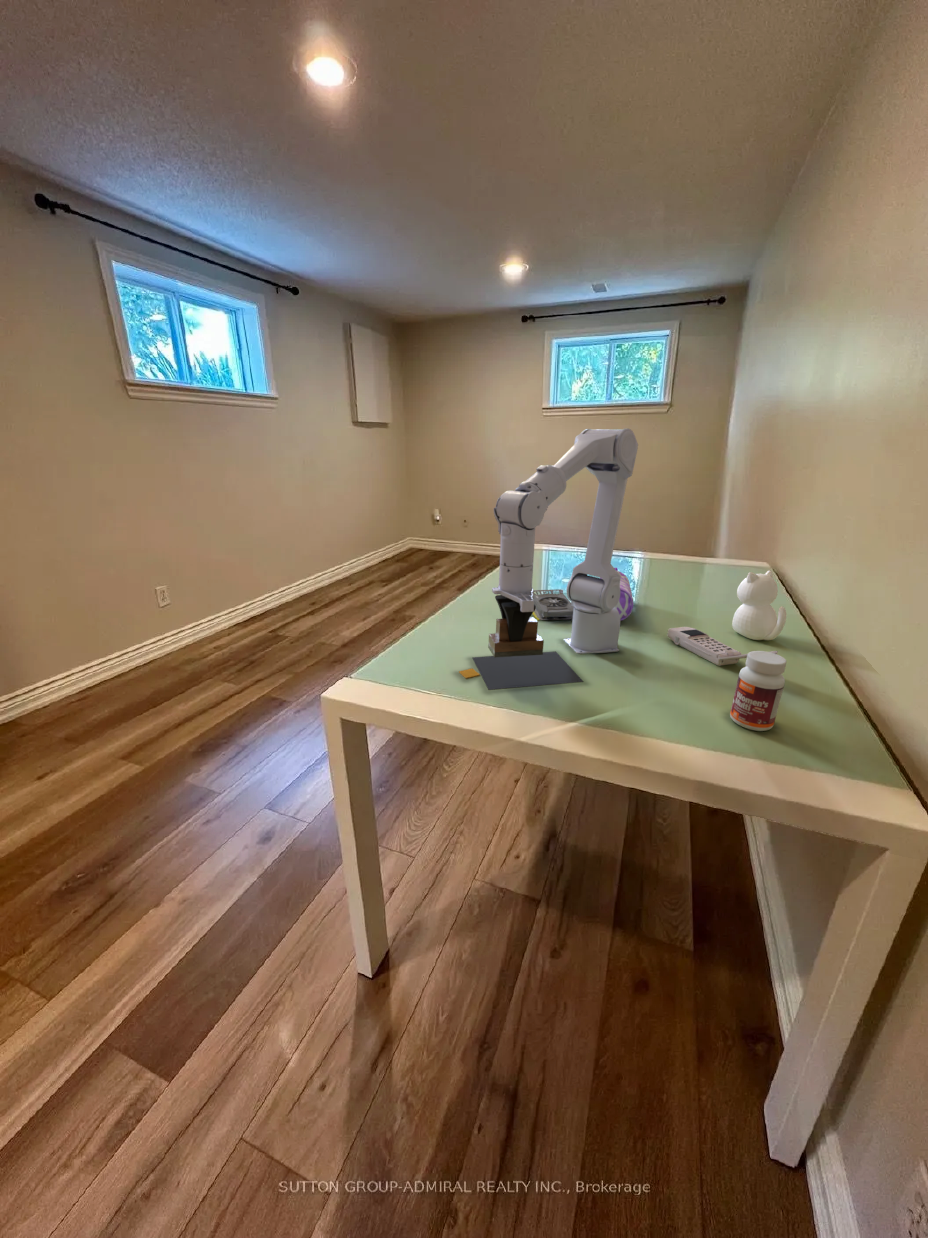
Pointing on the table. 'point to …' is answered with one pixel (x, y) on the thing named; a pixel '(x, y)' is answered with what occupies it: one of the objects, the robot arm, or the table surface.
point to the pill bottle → (759, 691)
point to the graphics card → (552, 605)
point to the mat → (525, 671)
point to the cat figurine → (758, 608)
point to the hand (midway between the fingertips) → (513, 637)
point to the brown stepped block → (507, 648)
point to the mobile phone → (705, 646)
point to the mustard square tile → (469, 673)
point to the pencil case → (624, 597)
